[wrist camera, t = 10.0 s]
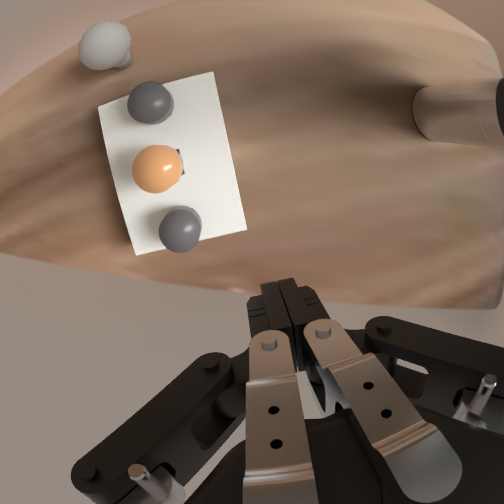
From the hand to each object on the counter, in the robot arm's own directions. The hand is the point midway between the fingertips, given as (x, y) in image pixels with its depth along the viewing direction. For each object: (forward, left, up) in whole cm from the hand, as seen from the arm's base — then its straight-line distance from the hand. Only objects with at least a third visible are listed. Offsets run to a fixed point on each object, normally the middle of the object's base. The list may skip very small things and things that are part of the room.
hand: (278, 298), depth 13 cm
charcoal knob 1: (+7, -13, -26) cm, 30 cm away
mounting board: (+7, -6, -27) cm, 28 cm away
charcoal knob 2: (+7, 0, -26) cm, 27 cm away
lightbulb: (+11, -22, -27) cm, 37 cm away
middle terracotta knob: (+7, -6, -23) cm, 25 cm away
